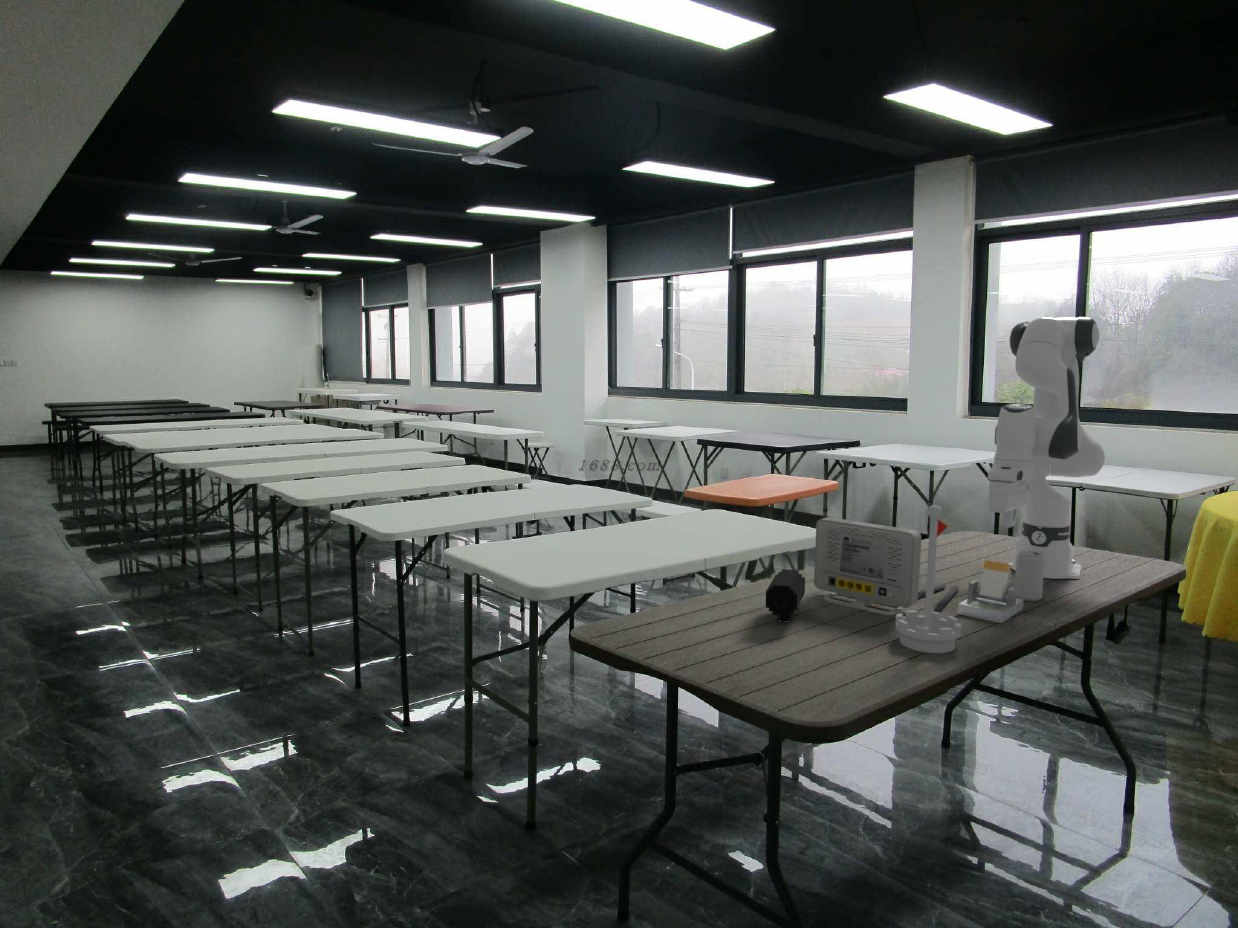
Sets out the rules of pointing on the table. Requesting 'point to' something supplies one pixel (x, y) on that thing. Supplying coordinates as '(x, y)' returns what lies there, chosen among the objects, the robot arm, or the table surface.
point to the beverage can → (1029, 575)
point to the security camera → (785, 593)
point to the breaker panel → (990, 605)
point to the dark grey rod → (946, 599)
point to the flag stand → (929, 607)
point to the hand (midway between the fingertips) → (1009, 526)
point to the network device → (867, 563)
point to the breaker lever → (994, 581)
